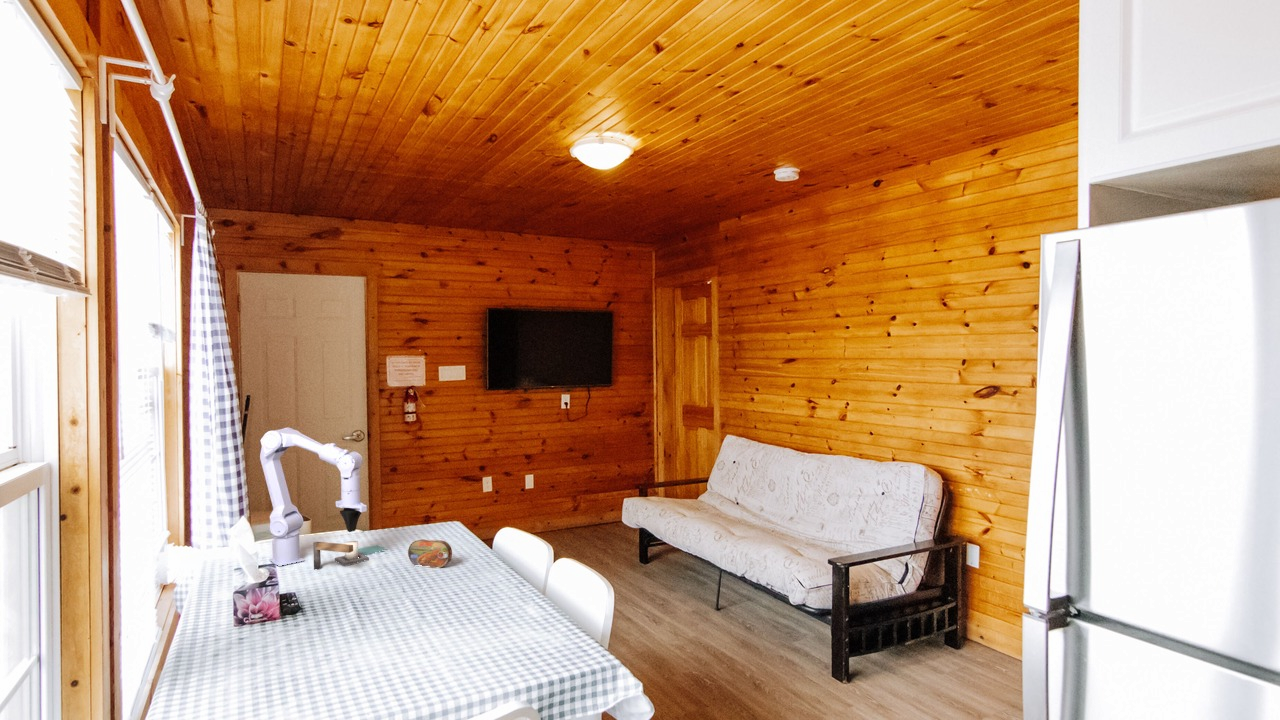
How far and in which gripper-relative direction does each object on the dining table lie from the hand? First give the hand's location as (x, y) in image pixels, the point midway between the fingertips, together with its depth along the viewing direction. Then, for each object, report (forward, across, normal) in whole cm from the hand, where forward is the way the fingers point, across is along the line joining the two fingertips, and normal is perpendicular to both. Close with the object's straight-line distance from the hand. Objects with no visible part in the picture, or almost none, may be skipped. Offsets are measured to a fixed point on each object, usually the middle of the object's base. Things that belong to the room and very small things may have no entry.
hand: (351, 531), depth 223 cm
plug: (+10, -2, +1) cm, 11 cm away
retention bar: (+10, +2, -8) cm, 13 cm away
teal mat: (+10, -6, +11) cm, 16 cm away
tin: (+10, +26, +11) cm, 30 cm away
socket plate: (+10, -2, +1) cm, 11 cm away
